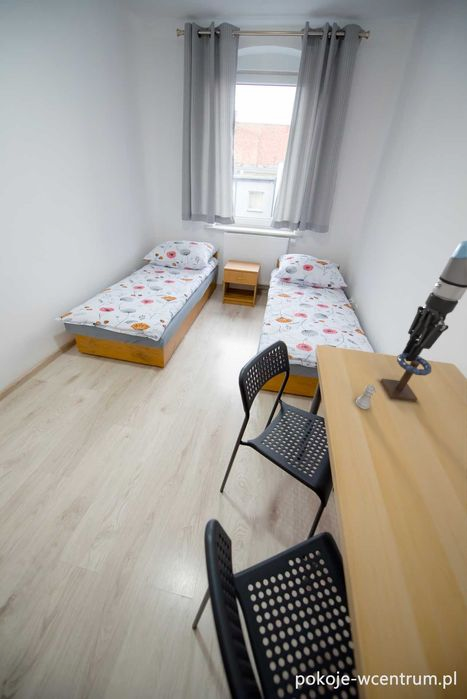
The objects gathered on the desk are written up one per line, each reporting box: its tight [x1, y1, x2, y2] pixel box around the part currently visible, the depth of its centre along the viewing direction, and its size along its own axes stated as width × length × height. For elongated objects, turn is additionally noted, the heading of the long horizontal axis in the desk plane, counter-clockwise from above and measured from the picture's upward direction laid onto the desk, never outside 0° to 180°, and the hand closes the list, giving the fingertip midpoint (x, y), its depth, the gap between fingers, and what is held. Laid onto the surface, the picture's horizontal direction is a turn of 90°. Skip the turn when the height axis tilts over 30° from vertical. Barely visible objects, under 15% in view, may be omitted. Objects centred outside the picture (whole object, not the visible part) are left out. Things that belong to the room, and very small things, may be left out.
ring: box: [396, 352, 433, 377], centre depth 93 cm, size 10×10×2 cm
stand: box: [380, 360, 421, 403], centre depth 96 cm, size 9×9×14 cm
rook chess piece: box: [355, 384, 377, 410], centre depth 90 cm, size 4×4×8 cm
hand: (407, 357), depth 96 cm, fingers closed on ring, 2 cm apart
